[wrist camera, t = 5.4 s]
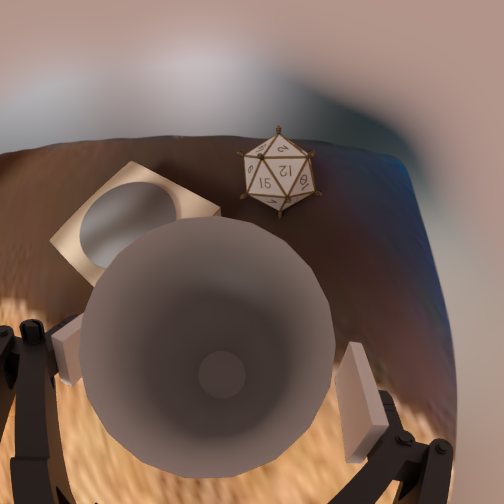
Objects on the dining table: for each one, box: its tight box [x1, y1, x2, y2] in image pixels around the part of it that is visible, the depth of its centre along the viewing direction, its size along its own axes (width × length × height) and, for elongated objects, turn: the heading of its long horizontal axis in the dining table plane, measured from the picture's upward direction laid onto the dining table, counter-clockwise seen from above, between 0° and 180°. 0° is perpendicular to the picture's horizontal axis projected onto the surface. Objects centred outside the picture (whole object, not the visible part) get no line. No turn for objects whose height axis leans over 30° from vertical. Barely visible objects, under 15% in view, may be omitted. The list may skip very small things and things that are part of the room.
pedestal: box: [49, 161, 221, 287], centre depth 27 cm, size 13×13×4 cm
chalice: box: [79, 216, 336, 478], centre depth 15 cm, size 7×7×18 cm
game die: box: [236, 126, 323, 219], centre depth 29 cm, size 9×8×10 cm
